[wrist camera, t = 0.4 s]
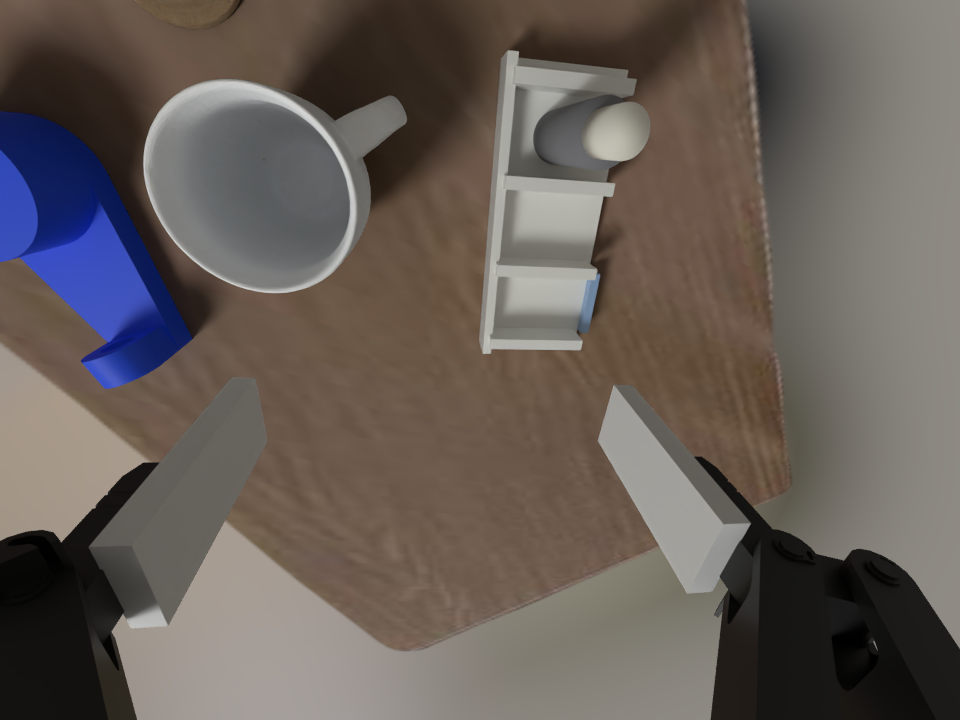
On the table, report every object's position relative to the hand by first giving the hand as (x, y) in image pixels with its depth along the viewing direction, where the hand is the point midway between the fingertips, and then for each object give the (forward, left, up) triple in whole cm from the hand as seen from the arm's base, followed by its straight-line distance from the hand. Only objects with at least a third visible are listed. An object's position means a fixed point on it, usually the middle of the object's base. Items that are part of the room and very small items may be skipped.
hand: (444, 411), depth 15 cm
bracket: (+1, -28, -26) cm, 38 cm away
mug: (-6, -9, -26) cm, 28 cm away
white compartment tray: (-3, +10, -25) cm, 27 cm away
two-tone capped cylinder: (-10, +10, -24) cm, 28 cm away
